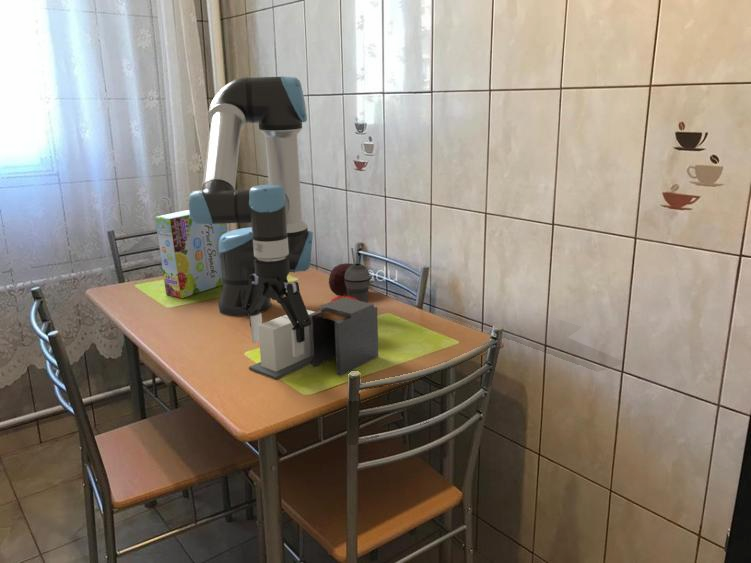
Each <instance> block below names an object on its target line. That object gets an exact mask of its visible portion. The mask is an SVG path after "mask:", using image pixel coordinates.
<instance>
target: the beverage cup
mask: <svg viewBox="0 0 751 563" xmlns="http://www.w3.org/2000/svg"><path fill="white" fill-rule="evenodd" d="M350 250H351V257H352V262H353V263H352V264H353V265H351V266H349V267H348V268H347V270H346V272H345V277H344V280H345V285H346V289H347V296H351V297H354V298H357V299H358V300H359V301H362V302H366V303H369V301H368V300H369V288H370V282H371V275H370V271H369V269H368V268H367V267H366V265H364V264H361V263H356V260H355V254H354V248H353V247H351V248H350Z"/></svg>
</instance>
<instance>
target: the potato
mask: <svg viewBox="0 0 751 563" xmlns="http://www.w3.org/2000/svg"><path fill="white" fill-rule="evenodd" d="M351 265H353V263H349V262H345V263H340V264H338V265H336V266H335V267H333V268H332V269H331V271H330V273H329V278H328V286H329V288H330V290H331V292H332V293H333V294H335V296H337V297H339V296H344V293H345V296H347V289H346V285H345V280H344V277H345V272H346V270H347V268H348V267H349V266H351Z"/></svg>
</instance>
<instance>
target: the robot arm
mask: <svg viewBox="0 0 751 563" xmlns="http://www.w3.org/2000/svg"><path fill="white" fill-rule="evenodd" d="M307 121H308V115H307V108H306V102H305V98H304V90H303V87H302V84H301V80H299V79H298V78H297V77H294V76H293V77H292V76H282V75H281V76H258V77H247V76H246V77H245V76H244V77H239V78H235V79H233V80H230V81H229V82H228V83H227V84H225V85H224V86H222V88H220V89H219V90H218V92H217V93H216V94H215V96H213V99H212V100H211V103H210V104H209V107H208V113H207V122H208V124H209V125H210V128H209V133H208V134H209V135H208V143H207V148H206V156H205V162H204V171H203V177H202V184H201V189H200V190H199V189H198V190H193V191H191V193H190V194H189V196H188V210H189V212H190V217H191V219H192V221H193V222H194V223H196V224H211V225H212V224H223V223H226V224H251V226H250V227H241V228H237V229H234V230H233V229H232V230H230V231H227V233H225V234H223V235H222V236H221V237H220V240H219V247H220V250H219V253H220V259H221V270H222V280H223V285H221V292H220V295H219V300H218V310H219V313H221V314H223V315H228V316H236V317H237V316H238V317H241V316H248V319H249V326H250V329H251V342H252V343H253V344H256V343H258V342H259V330H258V325H260V324H262V323H263V316H262V313H263V312H265V311H268V310H269V309H271V307H272V301H271V300H274V301H276V303H278V304H280V306H281V307H282V309H283V311H284V312H285V315H287V316H288V318H289V320H290V321H291V323H292V325H293V326H294V327H293V328H291V334H292V350H293V357H297V356H299V355H301V354H303V353H304V342H303V341H304V340H305V333H304V327H307V326H309V325H311V320H310V317H309V315H308V312H307V310H308V309H307V308H306V304H305V302H304V300H303V297H302V295H301V292H300V291H301V290H300V284H299V283H298V281H294V282H289V281H288V275H289V273H293V274H294V273H295V274H296V273H299V272H307V271H308V270H309V269H310V267H311V260H312V251H313V250H312V248H313V238H314V237H313V236H314V232H313V231H310V230H308V229H309V228H308V224H307V223H306V222H305V221H304V220H303V216H302V199H301V184H300V182H301V181H300V166H299V164H300V162H299V147H298V146H299V145H298V134H299V133H300V132H301V131H302V130H303V123H306V122H307ZM248 123H251V124H255V123H256V124H258V131H260V133H262V134H263V135H264V138H265V148H266V149H265V150H266V164H267V180H268V184H259V185H258V184H257V185H254V186H252V187H251V188H249V189H236V185H237V184H236V183H237V174H238V163H239V152H240V143H241V134H242V132H241V131H243V129H244V128H245V127H246V124H248ZM297 321H298V323H297Z"/></svg>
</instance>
